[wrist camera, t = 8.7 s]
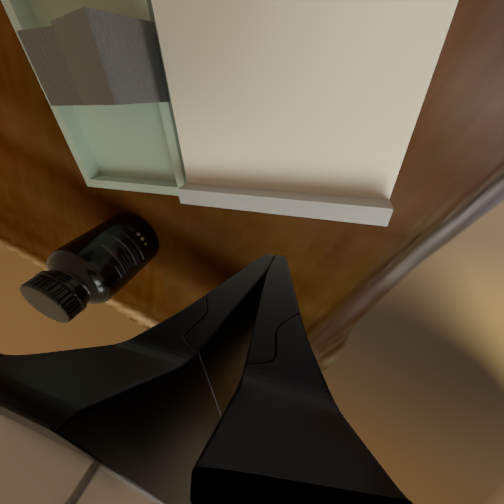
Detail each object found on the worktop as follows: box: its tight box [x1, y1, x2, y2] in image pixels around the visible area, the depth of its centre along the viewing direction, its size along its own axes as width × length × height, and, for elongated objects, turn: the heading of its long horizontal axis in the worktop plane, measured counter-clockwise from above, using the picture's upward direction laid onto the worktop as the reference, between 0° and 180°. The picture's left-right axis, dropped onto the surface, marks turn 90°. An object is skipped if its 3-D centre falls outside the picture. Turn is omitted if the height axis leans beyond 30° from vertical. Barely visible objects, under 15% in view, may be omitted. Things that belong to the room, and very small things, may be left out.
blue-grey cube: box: [51, 7, 170, 105], centre depth 14 cm, size 4×4×4 cm
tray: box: [1, 0, 187, 196], centre depth 18 cm, size 18×12×2 cm, turn 2°
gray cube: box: [17, 26, 83, 106], centre depth 16 cm, size 4×4×4 cm
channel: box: [151, 0, 459, 226], centre depth 13 cm, size 17×15×4 cm
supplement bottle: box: [20, 213, 159, 323], centre depth 24 cm, size 7×7×12 cm
